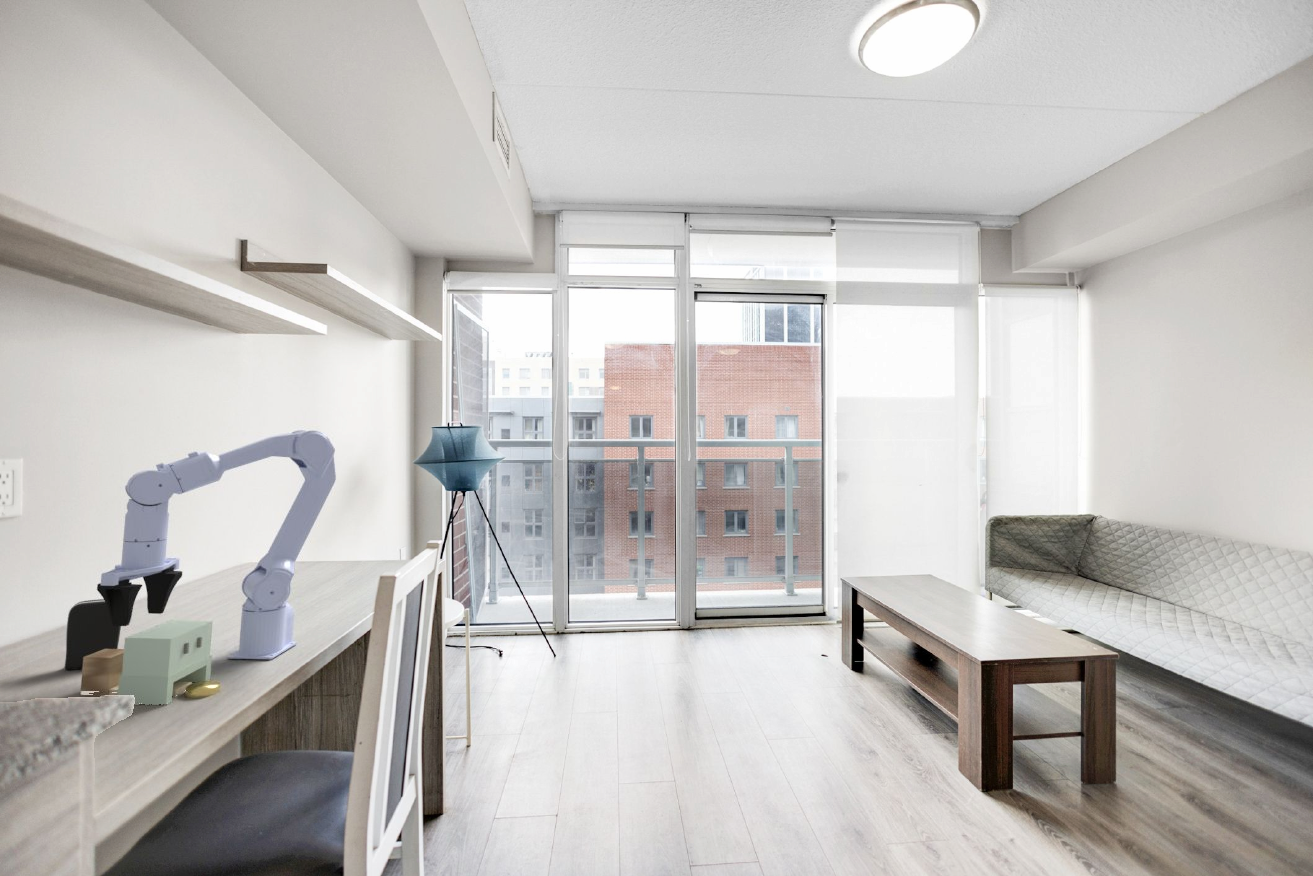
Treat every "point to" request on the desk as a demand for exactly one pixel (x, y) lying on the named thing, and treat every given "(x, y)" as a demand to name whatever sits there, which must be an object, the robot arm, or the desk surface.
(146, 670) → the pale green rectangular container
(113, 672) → the wooden rectangular block
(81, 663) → the battery charger
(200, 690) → the disc
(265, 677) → the desk surface
